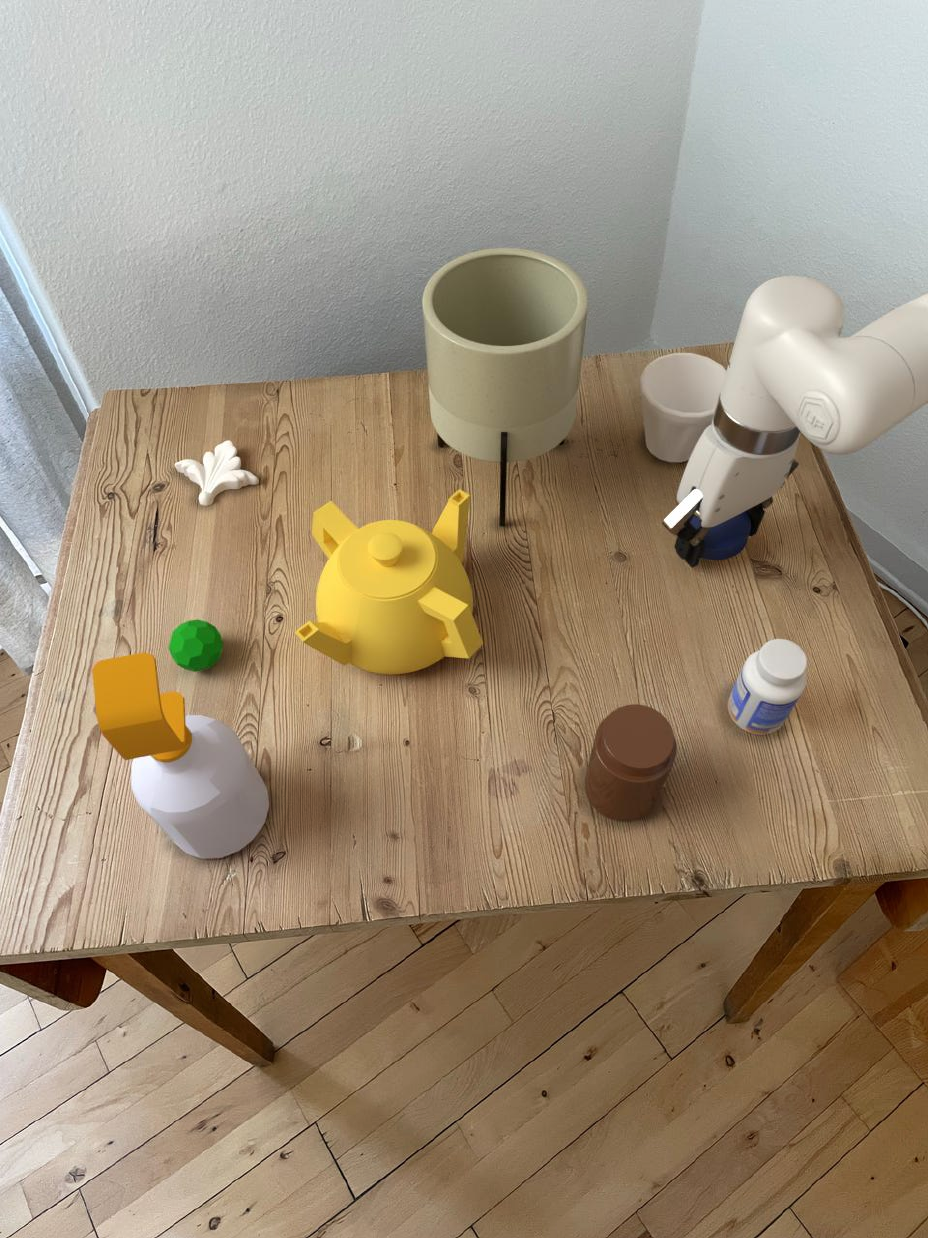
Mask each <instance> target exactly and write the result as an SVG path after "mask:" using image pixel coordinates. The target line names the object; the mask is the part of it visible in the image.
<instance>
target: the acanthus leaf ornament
mask: <svg viewBox="0 0 928 1238" xmlns="http://www.w3.org/2000/svg"><path fill="white" fill-rule="evenodd" d="M237 454H238V449H237V447H235V445H234V443H233V441H232V440H225V441H223V442H221V443H220V444H217V445H216V446H215V448H214V453H213V452H212V451H206V452H205V453H204V455H203V458H202V463H203V464H202V463H200V462H199V461H197V460H195V459H191V458H185V459H182V460H180V461H177V462H174V468H175V469H176V471H177V472H178V473H180V474H183V475H184V476H185V477H187V478H188V479H189V480H190V481H191V482H193V483H195V484H197V485H198V486H200V489H201V492H200V493H199V495H198V503H199V504H200V505H201V506H205V507H208V506H210V505H212V504H213V503H214V501H215V497H216V496H218V495H219V494H220V493H222V492H224V491H227V490H239V489H241V488H242V487H248V486H249V485H254V486H255V485H258V484H260V480H259V478H258V477H257V475H254V474H253V473H252V472H250V471H249V470H246V469H242V468H241V467H242V459H241V457H239V456H237Z"/></svg>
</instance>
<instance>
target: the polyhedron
mask: <svg viewBox="0 0 928 1238" xmlns="http://www.w3.org/2000/svg"><path fill="white" fill-rule="evenodd" d="M223 646H224V640H223V637H222V635H221V633H220V631H219V630H218V628H217V627H216V626H215V625H213V624H212V623H210V622H208V621H205V620H202V619H191V620H186V621H185V622H182V623H180V624H178V626H177V627H176V628H175V629H174V630H172V633H171V637H170V640H169V645H168V651H169V654H170V655H171V658H172V660H173V661H174V662H175V664H176V665H177V666H178V667H180V668H182V669H184V670H186V671H190V672H193V673H195V672H201V671H204V670H208V669H211V668H212V667H213V666H214V665H215V664H216V663H218V661H219V660H220V659H221V656H222V653H223Z"/></svg>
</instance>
